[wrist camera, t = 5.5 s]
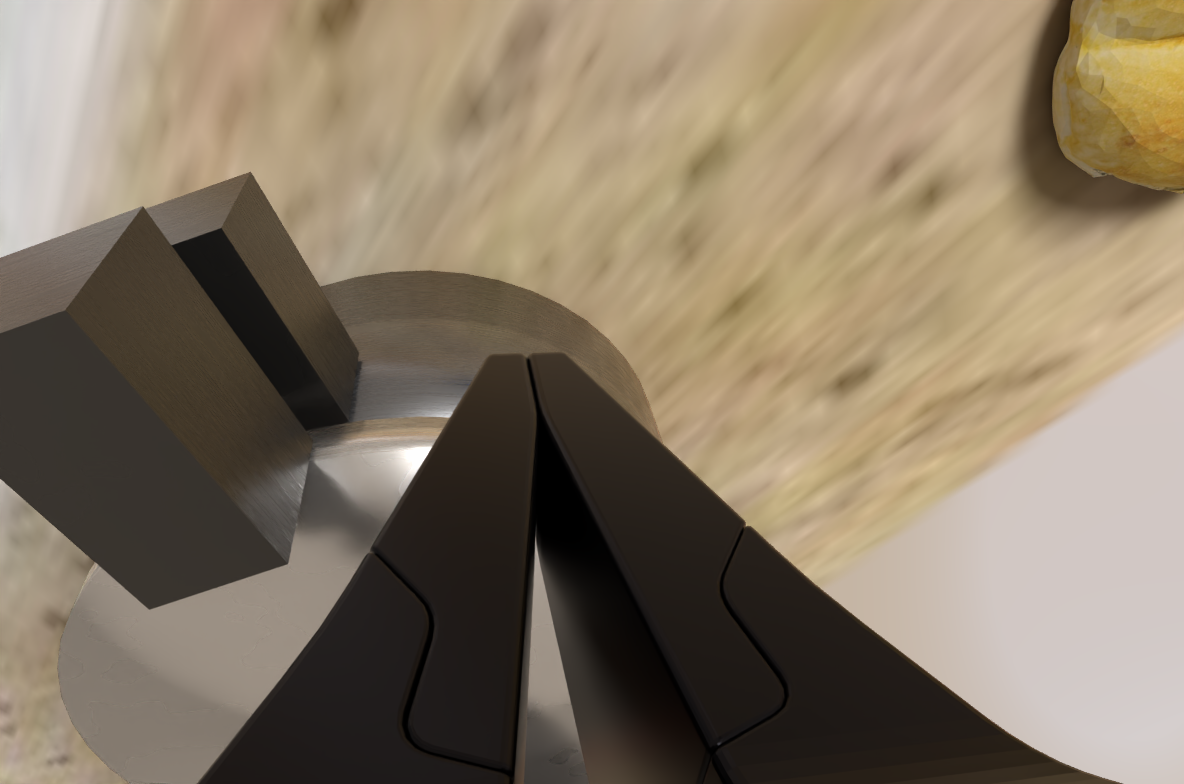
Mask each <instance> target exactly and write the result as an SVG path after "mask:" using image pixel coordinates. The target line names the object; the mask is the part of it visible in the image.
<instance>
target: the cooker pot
mask: <svg viewBox="0 0 1184 784" xmlns="http://www.w3.org/2000/svg"><path fill="white" fill-rule="evenodd" d="M145 210H146V211H147V212H148V214H149V215H150V217H151V218H152V219H153V221H154V222H155V224H156V225H157V226H158V228H159V229H160V230H161V232H162V233H163V235H164V236H165V237H166V239H167V240H168V241H169V243H170V244H171V246H172V247H173V248H174V250H175V251H176V252H177V254H178V255H179V257H180V258H181V259H182V261H183V262H184V263H185V265H186V266H187V268H188V269H189V270H190V272H191V273H192V275H193V276H194V277H195V279H196V280H197V281H198V283H199V284H200V286H201V287H202V288H203V290H204V291H205V292H206V294H207V295H208V297H209V298H210V299H211V301H212V302H213V303H214V305H215V306H216V308H217V309H218V310H219V312H220V313H221V314H222V316H223V317H224V319H225V320H226V321H227V323H228V324H229V325H230V327H231V328H232V330H233V331H234V332H235V334H236V335H237V337H238V338H239V339H240V341H241V342H242V343H243V345H244V346H245V348H246V349H247V350H248V352H249V353H250V354H251V356H252V357H253V359H254V360H255V361H256V363H257V364H258V365H259V367H260V368H261V370H262V371H263V372H264V374H265V375H266V376H267V378H268V379H269V381H270V382H271V383H272V385H273V386H274V388H275V389H276V390H277V392H278V393H279V394H280V396H281V397H282V399H283V400H284V401H285V403H286V404H287V405H288V407H289V408H290V410H291V411H292V412H293V414H294V415H295V416H296V418H297V419H298V421H299V422H300V423H301V425H302V426H303V427H304V429H305V430H306V431H307V430H310V429H316V428H321V427H327V426H333V425H339V424H345V423H351V422H357V421H363V420H374V419H389V418H404V417H419V416H420V417H450V416H451V415H452V413H453V411H454V410H455V408H456V406H457V405H458V403H459V402H460V400H461V398H462V397H463V395H464V393H465V392H466V390H467V388H468V387H469V385H470V383H471V382H472V380H473V378H474V377H475V375H476V374H477V372H478V370H479V369H480V367H481V365H482V364H483V362H484V360H485V359H486V358H487V356H488V355H490V354H501V353H522V354H524V355H525V356H526V358H527V357H528V355H529V354H531V353H534V352H564V353H566V354H567V355H568V356H570V357H571V358H572V359H573V360H574V361H575V362H576V363H577V364H578V365H579V366H580V367H581V368H582V369H583V370H584V371H586V372H587V373H588V374H589V375H590V376H591V377H592V378H593V379H594V380H595V381H596V382H597V383H598V384H599V385H600V386H602V387H603V388H604V389H605V390H606V391H607V392H608V393H609V394H610V395H611V396H612V397H613V398H614V399H615V400H616V401H618V402H619V403H620V404H621V405H622V406H623V407H624V408H625V409H626V410H627V411H628V412H629V413H630V414H631V415H632V416H634V417H635V418H636V419H637V420H638V421H639V422H640V423H641V424H642V425H643V426H644V427H645V428H646V429H647V430H648V431H650V432H651V433H652V434H653V435H654V436H655V437H656V438H657V439H658V440H659V441H660V442H661V443H662V444H663V442H662V439H661V436H660V434H659V431H658V428H657V425H656V422H655V419H654V416H653V413H652V410H651V408H650V405H649V402H648V400H647V397H646V395H645V392H644V390H643V388H642V385H641V383H640V381H639V379H638V378H637V376H636V374H635V373H634V371H633V370H632V368H631V366H630V365H629V363H628V362H627V360H626V359H625V358H624V357H623V355H622V354H621V353H620V352H619V351H618V350H617V349H616V347H615V346H614V345H613V344H612V343H611V342H610V340H609V339H607V338H606V337H605V336H604V335H603V334H601V333H600V332H599V331H598V330H597V329H596V328H594V327H593V326H592V325H591V324H590V323H589V322H587V321H586V320H584V319H583V318H581V317H580V316H578V315H577V314H575V313H573V312H572V311H570V310H569V309H567V308H566V307H564V306H562V305H561V304H558V303H556V302H554V301H552V300H550V299H548V298H546V297H543V296H541V295H539V294H537V293H535V292H533V291H530V290H527V289H524V288H521V287H518V286H515V285H512V284H508V283H505V282H502V281H499V280H494V279H489V278H484V277H479V276H474V275H469V274H462V273H450V272H438V271H406V272H388V273H381V274H375V275H368V276H362V277H355V278H351V279H348V280H344V281H340V282H337V283H333V284H330V285H326V286H322V287H320V286H319V285H318V283H317V281H316V280H315V278H314V276H313V275H312V273H311V271H310V270H309V268H308V266H307V265H306V263H305V261H304V260H303V258H302V256H301V255H300V253H299V251H298V250H297V248H296V246H295V245H294V243H293V241H292V240H291V238H290V236H289V235H288V233H287V231H286V230H285V228H284V226H283V225H282V223H281V221H280V220H279V218H278V216H277V215H276V213H275V211H274V210H273V208H272V206H271V205H270V203H269V201H268V200H267V198H266V196H265V195H264V193H263V191H262V190H261V188H260V186H259V185H258V183H257V181H256V180H255V178H254V176H253V175H252V173H251V172H249V173H246V174H243V175H240V176H237V177H235V178H232V179H229V180H226V181H223V182H221V183H218V184H215V185H212V186H209V187H206V188H204V189H201V190H198V191H195V192H192V193H189V194H187V195H184V196H181V197H178V198H175V199H172V200H170V201H167V202H164V203H161V204H158V205H155V206H153V207H150V208H147V209H145Z"/></svg>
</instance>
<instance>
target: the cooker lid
mask: <svg viewBox="0 0 1184 784" xmlns="http://www.w3.org/2000/svg"><path fill="white" fill-rule="evenodd" d="M449 418H450V417H420V416H419V417H404V418H389V419H374V420H363V421H357V422H351V423H345V424H339V425H333V426H327V427H321V428H316V429H310V430H307V431H306V430H305V429H304V427H303V426H302V425H301V423H300V422H299V421H298V419H297V418H296V416H295V415H294V414H293V412H292V411H291V410H290V408H289V407H288V405H287V404H286V403H285V401H284V400H283V399H282V397H281V396H280V394H279V393H278V392H277V390H276V389H275V388H274V386H273V385H272V383H271V382H270V381H269V379H268V378H267V376H266V375H265V374H264V372H263V371H262V370H261V368H260V367H259V365H258V364H257V363H256V361H255V360H254V359H253V357H252V356H251V354H250V353H249V352H248V350H247V349H246V348H245V346H244V345H243V343H242V342H241V341H240V339H239V338H238V337H237V335H236V334H235V332H234V331H233V330H232V328H231V327H230V325H229V324H228V323H227V321H226V320H225V319H224V317H223V316H222V314H221V313H220V312H219V310H218V309H217V308H216V306H215V305H214V303H213V302H212V301H211V299H210V298H209V297H208V295H207V294H206V292H205V291H204V290H203V288H202V287H201V286H200V284H199V283H198V281H197V280H196V279H195V277H194V276H193V275H192V273H191V272H190V270H189V269H188V268H187V266H186V265H185V263H184V262H183V261H182V259H181V258H180V257H179V255H178V254H177V252H176V251H175V250H174V248H173V247H172V246H171V244H170V243H169V241H168V240H167V239H166V237H165V236H164V235H163V233H162V232H161V230H160V229H159V228H158V226H157V225H156V224H155V222H154V221H153V219H152V218H151V217H150V215H149V214H148V212H147V211H146V210H145V208H144V207H143V206H142V207H140V208H137V209H134V210H131V211H129V212H126V213H123V214H120V215H117V216H115V217H112V218H109V219H106V220H104V221H101V222H98V223H95V224H93V225H90V226H87V227H84V228H82V229H79V230H76V231H73V232H71V233H68V234H65V235H62V236H59V237H57V238H54V239H51V240H48V241H46V242H43V243H40V244H37V245H35V246H32V247H29V248H26V249H24V250H21V251H18V252H15V253H13V254H10V255H7V256H4V257H1V258H0V479H1V480H3V481H4V482H5V483H6V484H7V485H8V486H9V487H11V488H12V489H13V490H14V491H15V492H16V493H17V494H18V495H20V496H21V497H22V498H23V499H24V500H25V501H26V502H27V503H29V504H30V505H31V506H32V507H33V508H34V509H35V510H37V511H38V512H39V513H40V514H41V515H42V516H43V517H44V518H46V519H47V520H48V521H49V522H50V523H51V524H52V525H54V526H55V527H56V528H57V529H58V530H59V531H60V532H61V533H63V534H64V535H65V536H66V537H67V538H68V539H69V540H71V541H72V542H73V543H74V544H75V545H76V546H77V547H78V548H80V549H81V550H82V551H83V552H84V553H85V554H86V555H88V556H89V557H90V558H91V559H92V560H93V561H94V562H95V563H94V565H93V566H92V568H91V569H90V571H89V573H88V575H87V578H86V580H85V582H84V584H83V586H82V588H81V591H80V593H79V595H78V597H77V599H76V601H75V603H74V606H73V608H72V610H71V613H70V616H69V618H68V621H67V624H66V626H65V629H64V632H63V634H62V637H61V641H60V650H59V659H58V668H57V669H58V676H59V683H60V690H61V696H62V699H63V702H64V704H65V707H66V709H67V711H68V714H69V716H70V719H71V721H72V723H73V725H74V726H75V728H76V729H77V731H78V732H79V734H80V735H81V737H82V738H83V740H84V741H85V742H86V744H87V745H88V747H89V748H90V749H91V750H92V751H93V752H94V753H95V754H96V755H97V756H98V757H99V758H100V759H101V760H102V761H103V762H104V763H105V764H106V765H107V766H108V767H109V768H110V769H111V770H113V771H114V772H115V773H117V774H118V775H119V776H121V777H122V778H123V779H125V780H126V781H127V782H129V783H130V784H197V783H198V781H199V780H200V779H201V778H202V776H203V775H204V774H205V773H206V771H207V770H208V769H209V768H210V766H211V765H212V764H213V763H214V761H215V760H216V759H217V758H218V756H219V755H220V754H221V753H222V751H223V750H224V749H225V748H226V746H227V745H228V744H229V743H230V741H231V740H232V739H233V738H234V736H235V735H236V734H237V733H238V731H239V730H240V729H241V728H242V726H243V725H244V724H245V723H246V721H247V720H248V719H249V718H250V716H251V715H252V714H253V713H254V711H255V710H256V709H257V708H258V706H259V705H260V704H261V703H262V701H263V700H264V699H265V698H266V696H267V695H268V694H269V693H270V691H271V690H272V689H273V688H274V686H275V685H276V684H277V683H278V681H279V680H280V679H281V678H282V676H283V675H284V674H285V672H286V671H287V670H288V668H289V667H290V666H291V664H292V663H293V662H294V660H295V659H296V658H297V656H298V655H299V654H300V652H301V651H302V650H303V649H304V647H305V646H306V645H307V643H308V642H309V641H310V639H311V638H312V637H313V635H314V634H315V633H316V631H317V630H318V629H319V627H320V626H321V624H322V623H323V621H324V620H325V618H326V617H327V615H328V614H329V612H330V611H331V609H332V608H333V606H334V605H335V603H336V602H337V600H338V599H339V597H340V596H341V594H342V592H343V591H344V589H345V588H346V586H347V585H348V583H349V582H350V580H351V578H352V577H353V575H354V573H355V572H356V570H357V568H358V567H359V565H360V564H361V562H362V560H363V559H364V557H365V555H366V554H368V553H370V548H371V546H372V545H373V543H374V541H375V540H376V538H377V536H378V535H379V533H380V531H381V530H382V528H383V526H384V525H385V523H386V522H387V520H388V518H389V517H390V515H391V513H392V512H393V510H394V508H395V507H396V505H397V503H398V502H399V500H400V498H401V497H402V495H403V494H404V492H405V490H406V489H407V487H408V485H409V484H410V482H411V480H412V479H413V477H414V475H415V474H416V472H417V471H418V469H419V467H420V466H421V464H422V462H423V461H424V459H425V457H426V456H427V454H428V452H429V451H430V449H431V448H432V446H433V444H434V443H435V441H436V439H437V438H438V436H439V434H440V433H441V431H442V429H443V428H444V426H445V425H446V423H447V421H448V420H449ZM524 784H589V781H588V777H587V772H586V768H585V763H584V759H583V754H582V750H581V746H580V741H579V737H578V732H577V728H576V723H575V719H574V714H573V710H572V705H571V701H570V696H569V692H568V688H567V683H566V679H565V674H564V670H563V665H562V661H561V656H560V652H559V647H558V643H557V638H556V634H555V629H554V625H553V621H552V616H551V612H550V607H549V603H548V598H547V594H546V589H545V585H544V580H543V576H542V571H541V567H540V562H539V557H538V551H537V546H536V537H535V568H534V588H533V608H532V628H531V648H530V668H529V688H528V709H527V729H526V749H525V769H524Z"/></svg>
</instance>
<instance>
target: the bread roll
mask: <svg viewBox="0 0 1184 784" xmlns="http://www.w3.org/2000/svg"><path fill="white" fill-rule="evenodd" d="M1052 115H1053V124H1054V128H1055V131H1056V135H1057V141H1058V144H1059V146H1060V149H1061V150H1062V152H1063V154H1064V156H1065V157H1066V158H1067V159H1068V160H1070V161H1071V162H1073V163H1074V164H1075V165H1077V166H1078V167H1079V168H1081V169H1082V170H1084V171H1086V173H1088V174H1089V175H1091V176H1092V177H1099V176H1107V175H1108V174H1109V175H1112V174H1113V175H1114V176H1115V177H1117V178H1119V179H1121V180H1124V181H1127V182H1130V183H1133V184H1137V185H1138V184H1139V185H1142V186H1145V187H1148V188H1151V189H1155V190H1167V191H1172V192H1176V193H1180V194H1182V193H1184V0H1073V2H1072V6H1071V12H1070V32H1069V38H1068V41H1067V43H1066V45H1065V47H1064V49H1063V50H1062V52H1061V54H1060V56H1059V59H1058V62H1057V65H1056V68H1055V71H1054V78H1053V99H1052Z"/></svg>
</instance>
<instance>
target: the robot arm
mask: <svg viewBox="0 0 1184 784" xmlns="http://www.w3.org/2000/svg"><path fill="white" fill-rule="evenodd" d="M745 526H746V522H745V521H744V520H743V519H742V518H741V517H740V516H739V515H738V514H737V513H736V512H735V511H734V510H733V509H732V508H731V507H730V506H728V505H727V504H726V503H725V502H724V501H723V500H722V499H721V498H720V497H719V496H718V495H717V494H716V493H715V492H714V491H712V490H711V489H710V488H709V487H708V486H707V485H706V484H705V483H704V482H703V481H702V480H701V479H700V478H699V477H698V476H696V475H695V474H694V473H693V472H692V471H691V470H690V469H689V468H688V467H687V466H686V465H685V464H684V463H683V462H682V461H680V460H679V459H678V458H677V457H676V456H675V455H674V454H673V453H672V452H671V451H670V450H669V449H668V448H667V447H666V446H664V445H663V444H662V443H661V442H660V441H659V440H658V439H657V438H656V437H655V436H654V435H653V434H652V433H651V432H650V431H648V430H647V429H646V428H645V427H644V426H643V425H642V424H641V423H640V422H639V421H638V420H637V419H636V418H635V417H634V416H632V415H631V414H630V413H629V412H628V411H627V410H626V409H625V408H624V407H623V406H622V405H621V404H620V403H619V402H618V401H616V400H615V399H614V398H613V397H612V396H611V395H610V394H609V393H608V392H607V391H606V390H605V389H604V388H603V387H602V386H600V385H599V384H598V383H597V382H596V381H595V380H594V379H593V378H592V377H591V376H590V375H589V374H588V373H587V372H586V371H584V370H583V369H582V368H581V367H580V366H579V365H578V364H577V363H576V362H575V361H574V360H573V359H572V358H571V357H570V356H568V355H567V354H566V353H564V352H534V353H531V354H529V355H528V357H527V358H526V356H525V355H524V354H522V353H501V354H490V355H488V356H487V358H486V359H485V360H484V362H483V364H482V365H481V367H480V369H479V370H478V372H477V374H476V375H475V377H474V378H473V380H472V382H471V383H470V385H469V387H468V388H467V390H466V392H465V393H464V395H463V397H462V398H461V400H460V402H459V403H458V405H457V406H456V408H455V410H454V411H453V413H452V415H451V416H450V418H449V420H448V421H447V423H446V425H445V426H444V428H443V429H442V431H441V433H440V434H439V436H438V438H437V439H436V441H435V443H434V444H433V446H432V448H431V449H430V451H429V452H428V454H427V456H426V457H425V459H424V461H423V462H422V464H421V466H420V467H419V469H418V471H417V472H416V474H415V475H414V477H413V479H412V480H411V482H410V484H409V485H408V487H407V489H406V490H405V492H404V494H403V495H402V497H401V498H400V500H399V502H398V503H397V505H396V507H395V508H394V510H393V512H392V513H391V515H390V517H389V518H388V520H387V522H386V523H385V525H384V526H383V528H382V530H381V531H380V533H379V535H378V536H377V538H376V540H375V541H374V543H373V545H372V546H371V548H370V553H368V554H366V555H365V557H364V559H363V560H362V562H361V564H360V565H359V567H358V568H357V570H356V572H355V573H354V575H353V577H352V578H351V580H350V582H349V583H348V585H347V586H346V588H345V589H344V591H343V592H342V594H341V596H340V597H339V599H338V600H337V602H336V603H335V605H334V606H333V608H332V609H331V611H330V612H329V614H328V615H327V617H326V618H325V620H324V621H323V623H322V624H321V626H320V627H319V629H318V630H317V631H316V633H315V634H314V635H313V637H312V638H311V639H310V641H309V642H308V643H307V645H306V646H305V647H304V649H303V650H302V651H301V652H300V654H299V655H298V656H297V658H296V659H295V660H294V662H293V663H292V664H291V666H290V667H289V668H288V670H287V671H286V672H285V674H284V675H283V676H282V678H281V679H280V680H279V681H278V683H277V684H276V685H275V686H274V688H273V689H272V690H271V691H270V693H269V694H268V695H267V696H266V698H265V699H264V700H263V701H262V703H261V704H260V705H259V706H258V708H257V709H256V710H255V711H254V713H253V714H252V715H251V716H250V718H249V719H248V720H247V721H246V723H245V724H244V725H243V726H242V728H241V729H240V730H239V731H238V733H237V734H236V735H235V736H234V738H233V739H232V740H231V741H230V743H229V744H228V745H227V746H226V748H225V749H224V750H223V751H222V753H221V754H220V755H219V756H218V758H217V759H216V760H215V761H214V763H213V764H212V765H211V766H210V768H209V769H208V770H207V771H206V773H205V774H204V775H203V776H202V778H201V779H200V780H199V781H198V783H197V784H524V769H525V749H526V729H527V709H528V688H529V668H530V648H531V628H532V608H533V588H534V568H535V537H536V546H537V551H538V557H539V562H540V567H541V571H542V576H543V580H544V585H545V589H546V594H547V598H548V603H549V607H550V612H551V616H552V621H553V625H554V629H555V634H556V638H557V643H558V647H559V652H560V656H561V661H562V665H563V670H564V674H565V679H566V683H567V688H568V692H569V696H570V701H571V705H572V710H573V714H574V719H575V723H576V728H577V732H578V737H579V741H580V746H581V750H582V754H583V759H584V763H585V768H586V772H587V777H588V781H589V784H1122V783H1119V782H1115V781H1112V780H1108V779H1105V778H1102V777H1099V776H1096V775H1093V774H1090V773H1087V772H1084V771H1081V770H1078V769H1076V768H1074V767H1071V766H1069V765H1066V764H1064V763H1062V762H1059V761H1057V760H1055V759H1053V758H1051V757H1049V756H1047V755H1046V754H1044V753H1042V752H1040V751H1038V750H1036V749H1034V748H1032V747H1031V746H1029V745H1027V744H1026V743H1024V742H1023V741H1021V740H1019V739H1018V738H1016V737H1014V736H1013V735H1011V734H1009V733H1008V732H1006V731H1005V730H1004V729H1002V728H1001V727H999V726H998V725H997V724H995V723H994V722H992V721H991V720H990V719H988V718H987V717H985V716H984V715H983V714H981V713H980V712H979V711H978V710H976V709H975V708H974V707H972V706H971V705H970V704H968V703H967V702H966V701H965V700H963V699H962V698H961V697H959V696H958V695H957V694H955V693H954V692H953V691H951V690H950V689H949V688H948V687H946V686H945V685H944V684H942V683H941V682H940V681H938V680H937V679H936V678H934V677H933V676H932V675H931V674H929V673H928V672H927V671H925V670H924V669H923V668H921V667H920V666H919V665H918V664H916V663H915V662H914V661H912V660H911V659H910V658H908V657H907V656H906V655H904V654H903V653H902V652H901V651H899V650H898V649H897V648H895V647H894V646H893V645H891V644H890V643H889V642H888V641H886V640H885V639H884V638H882V637H881V636H880V635H878V634H877V633H875V632H874V631H873V630H872V629H870V628H869V627H868V626H867V625H865V624H864V623H863V622H862V621H860V620H859V619H858V618H856V617H855V616H854V615H853V614H852V613H850V612H849V611H848V610H846V609H845V608H844V607H843V606H841V605H840V604H839V603H838V602H837V601H835V600H834V599H833V598H832V597H830V596H829V595H828V594H827V593H825V592H824V591H823V590H822V589H820V588H819V587H818V586H817V585H815V584H814V583H813V582H812V581H811V580H810V579H809V578H807V577H806V576H805V575H804V574H803V573H802V572H801V571H800V570H798V569H797V568H796V567H795V566H794V565H793V564H792V563H791V562H789V561H788V560H787V559H786V558H785V557H784V556H783V555H782V554H780V553H779V552H778V551H777V550H776V549H775V548H774V547H773V546H772V545H771V544H769V543H768V542H767V541H766V540H765V539H764V538H763V537H762V536H761V535H760V534H759V533H758V532H757V531H756V530H755V529H753V528H752V527H751V526H746V527H745Z"/></svg>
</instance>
